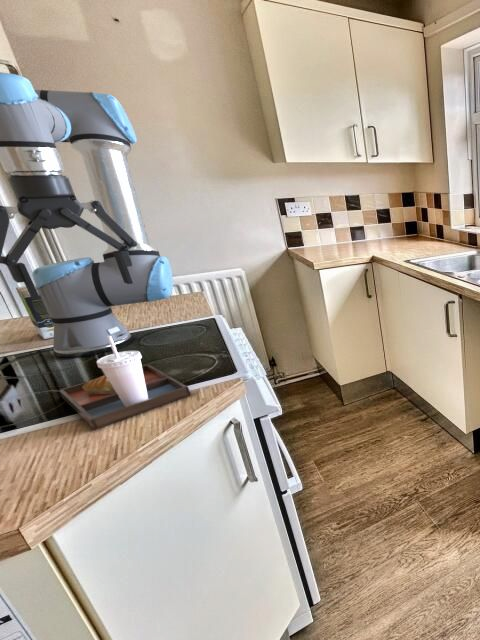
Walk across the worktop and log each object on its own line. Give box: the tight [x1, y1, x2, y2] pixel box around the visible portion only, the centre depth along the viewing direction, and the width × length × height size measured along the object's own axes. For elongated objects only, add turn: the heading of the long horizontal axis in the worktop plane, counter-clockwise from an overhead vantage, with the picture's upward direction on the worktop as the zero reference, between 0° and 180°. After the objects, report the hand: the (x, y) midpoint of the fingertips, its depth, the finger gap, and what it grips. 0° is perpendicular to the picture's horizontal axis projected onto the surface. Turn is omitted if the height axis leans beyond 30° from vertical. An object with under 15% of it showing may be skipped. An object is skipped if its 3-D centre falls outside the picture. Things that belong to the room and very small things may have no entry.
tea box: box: [15, 284, 54, 340], centre depth 126 cm, size 15×10×15 cm, turn 144°
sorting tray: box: [58, 363, 191, 430], centre depth 86 cm, size 22×15×2 cm
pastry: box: [82, 374, 116, 395], centre depth 88 cm, size 9×7×4 cm
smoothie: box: [96, 336, 148, 406], centre depth 80 cm, size 6×6×14 cm
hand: (85, 290), depth 83 cm, fingers open, 13 cm apart
